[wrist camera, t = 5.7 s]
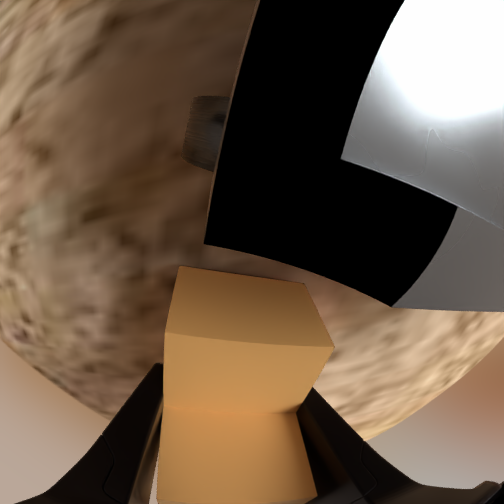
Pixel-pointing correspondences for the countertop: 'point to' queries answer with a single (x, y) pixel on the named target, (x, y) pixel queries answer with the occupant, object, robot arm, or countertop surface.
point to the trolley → (365, 147)
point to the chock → (237, 389)
